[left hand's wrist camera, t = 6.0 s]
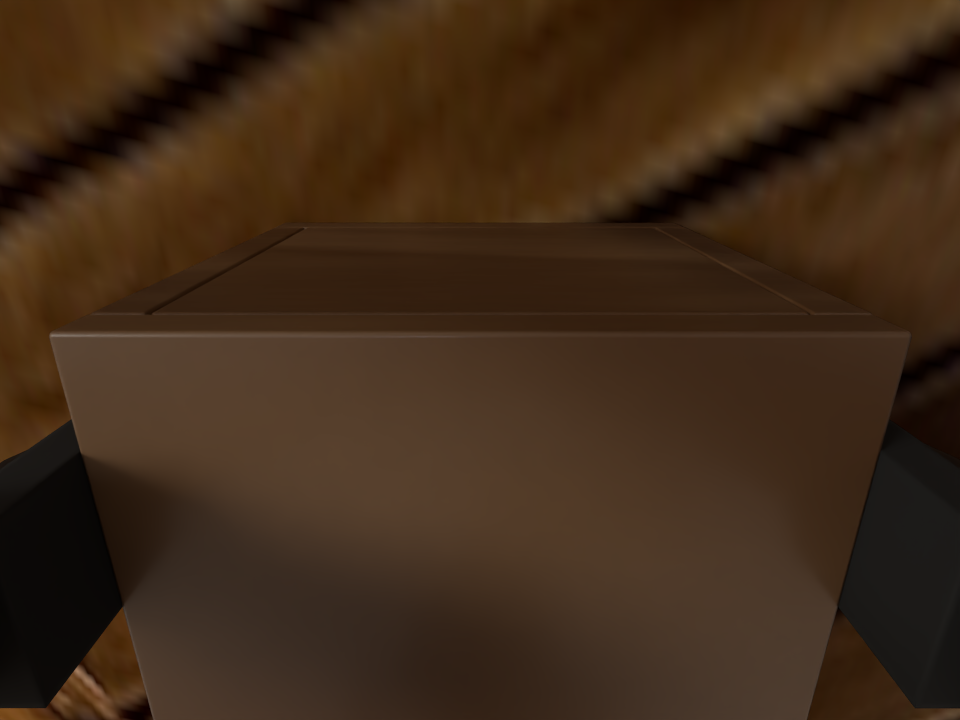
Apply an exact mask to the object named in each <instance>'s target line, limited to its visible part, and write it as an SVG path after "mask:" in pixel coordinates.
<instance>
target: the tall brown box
mask: <svg viewBox="0 0 960 720" xmlns="http://www.w3.org/2000/svg"><path fill="white" fill-rule="evenodd" d="M49 338H50V342H51V345H52V349H53V353H54V356H55V360H56V364H57V367H58V371H59V375H60V378H61V382H62V386H63V389H64V393H65V397H66V400H67V404H68V408H69V411H70V415H71V419H72V422H73V426H74V430H75V433H76V437H77V441H78V444H79V448H80V452H81V455H82V459H83V463H84V466H85V470H86V474H87V477H88V481H89V485H90V488H91V492H92V496H93V499H94V503H95V507H96V510H97V514H98V518H99V521H100V525H101V529H102V532H103V536H104V540H105V543H106V547H107V551H108V554H109V558H110V562H111V565H112V569H113V573H114V576H115V580H116V584H117V587H118V591H119V595H120V598H121V602H122V606H123V609H124V613H125V617H126V620H127V624H128V628H129V631H130V635H131V639H132V642H133V646H134V650H135V653H136V657H137V661H138V664H139V668H140V672H141V675H142V679H143V683H144V686H145V690H146V694H147V697H148V701H149V705H150V708H151V712H152V716H153V719H154V720H807V717H808V714H809V710H810V706H811V703H812V699H813V696H814V692H815V688H816V685H817V681H818V677H819V674H820V670H821V666H822V663H823V659H824V655H825V652H826V648H827V644H828V641H829V637H830V633H831V630H832V626H833V623H834V619H835V615H836V612H837V608H838V604H839V601H840V597H841V593H842V590H843V586H844V582H845V579H846V575H847V571H848V568H849V564H850V560H851V557H852V553H853V550H854V546H855V542H856V539H857V535H858V531H859V528H860V524H861V520H862V517H863V513H864V509H865V506H866V502H867V498H868V495H869V491H870V488H871V484H872V480H873V477H874V473H875V469H876V466H877V462H878V458H879V455H880V451H881V447H882V444H883V440H884V436H885V433H886V429H887V425H888V422H889V418H890V415H891V411H892V407H893V404H894V400H895V396H896V393H897V389H898V385H899V382H900V378H901V374H902V371H903V367H904V363H905V360H906V356H907V352H908V349H909V345H910V342H911V338H912V337H911V333H910V332H909V331H907V330H905V329H902V328H900V327H898V326H896V325H894V324H892V323H889V322H887V321H885V320H883V319H881V318H879V317H876V316H874V315H872V314H871V313H870V312H867V311H865V310H863V309H861V308H859V307H857V306H854V305H852V304H850V303H848V302H846V301H843V300H841V299H839V298H837V297H835V296H833V295H830V294H828V293H826V292H824V291H822V290H820V289H817V288H815V287H813V286H811V285H809V284H807V283H804V282H802V281H800V280H798V279H796V278H794V277H791V276H789V275H787V274H785V273H783V272H781V271H778V270H776V269H774V268H772V267H770V266H767V265H765V264H763V263H761V262H759V261H757V260H754V259H752V258H750V257H748V256H746V255H744V254H741V253H739V252H737V251H735V250H733V249H731V248H728V247H726V246H724V245H722V244H720V243H718V242H715V241H713V240H711V239H709V238H707V237H704V236H702V235H700V234H698V233H696V232H694V231H691V230H689V229H687V228H685V227H682V226H680V225H678V224H676V223H284V224H282V225H280V226H278V227H276V228H274V229H272V230H270V231H267V232H265V233H263V234H261V235H259V236H257V237H254V238H252V239H250V240H248V241H246V242H244V243H242V244H239V245H237V246H235V247H233V248H231V249H229V250H226V251H224V252H222V253H220V254H218V255H216V256H214V257H211V258H209V259H207V260H205V261H203V262H201V263H198V264H196V265H194V266H192V267H190V268H188V269H186V270H183V271H181V272H179V273H177V274H175V275H173V276H171V277H168V278H166V279H164V280H162V281H160V282H158V283H155V284H153V285H151V286H149V287H147V288H145V289H143V290H140V291H138V292H136V293H134V294H132V295H130V296H127V297H125V298H123V299H121V300H119V301H117V302H115V303H112V304H110V305H108V306H106V307H104V308H102V309H99V310H97V311H95V312H93V313H92V314H91V315H86V316H84V317H82V318H80V319H78V320H75V321H73V322H71V323H69V324H67V325H65V326H63V327H60V328H58V329H56V330H54V331H52V332H51V333H50V336H49Z"/></svg>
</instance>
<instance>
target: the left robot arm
mask: <svg viewBox="0 0 960 720" xmlns="http://www.w3.org/2000/svg"><path fill="white" fill-rule="evenodd" d="M122 607H123V606H122V602H121V598H120V595H119V591H118V587H117V584H116V580H115V576H114V573H113V569H112V565H111V562H110V558H109V554H108V551H107V547H106V543H105V540H104V536H103V532H102V529H101V525H100V521H99V518H98V514H97V510H96V507H95V503H94V499H93V496H92V492H91V488H90V485H89V481H88V477H87V474H86V470H85V466H84V463H83V459H82V455H81V452H80V448H79V444H78V441H77V437H76V433H75V430H74V426H73V422H72V419H71V420H70V421H68V422H67V423H65V424H64V425H63V426H61V427H60V428H58V429H57V430H55V431H54V432H53V433H51V434H50V435H48V436H47V437H45V438H44V439H43V440H41V441H40V442H38V443H37V444H35V445H34V446H33V447H31V448H30V449H28V450H26V451H24V452H22V453H20V454H17V455H15V456H13V457H11V458H8V459H6V460H4V461H3V462H1V463H0V708H46V707H47V706H48V704H49V703H50V702H51V700H52V699H53V698H54V696H55V695H56V694H57V693H58V691H59V690H60V689H61V687H62V686H63V685H64V683H65V682H66V681H67V679H68V678H69V677H70V675H71V674H72V673H73V671H74V670H75V669H76V667H77V666H78V665H79V663H80V662H81V661H82V659H83V658H84V657H85V655H86V654H87V653H88V652H89V650H90V649H91V648H92V646H93V645H94V644H95V642H96V641H97V640H98V638H99V637H100V636H101V634H102V633H103V632H104V630H105V629H106V628H107V626H108V625H109V624H110V622H111V621H112V620H113V618H114V617H115V616H116V614H117V613H118V612H119V611H120V609H121V608H122ZM838 607H839V608H840V610H841V611H842V612H843V614H844V615H845V616H846V618H847V619H848V620H849V622H850V623H851V624H852V626H853V627H854V628H855V629H856V631H857V632H858V633H859V635H860V636H861V637H862V639H863V640H864V641H865V643H866V644H867V645H868V647H869V648H870V649H871V651H872V652H873V653H874V655H875V656H876V657H877V659H878V660H879V661H880V663H881V664H882V665H883V666H884V668H885V669H886V670H887V672H888V673H889V674H890V676H891V677H892V678H893V680H894V681H895V682H896V684H897V685H898V686H899V688H900V689H901V690H902V692H903V693H904V694H905V696H906V697H907V698H908V700H909V701H910V702H911V704H912V705H913V706H914V707H915V708H960V460H959V459H958V458H956V457H953V456H951V455H949V454H947V453H944V452H942V451H940V450H938V449H935V448H933V447H931V446H929V445H926V444H924V443H922V442H921V441H920V440H918V439H917V438H915V437H914V436H912V435H911V434H910V433H908V432H907V431H905V430H904V429H902V428H901V427H900V426H898V425H897V424H895V423H894V422H892V421H891V420H889V422H888V425H887V429H886V433H885V436H884V440H883V444H882V447H881V451H880V455H879V458H878V462H877V466H876V469H875V473H874V477H873V480H872V484H871V488H870V491H869V495H868V498H867V502H866V506H865V509H864V513H863V517H862V520H861V524H860V528H859V531H858V535H857V539H856V542H855V546H854V550H853V553H852V557H851V560H850V564H849V568H848V571H847V575H846V579H845V582H844V586H843V590H842V593H841V597H840V601H839V604H838Z"/></svg>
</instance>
